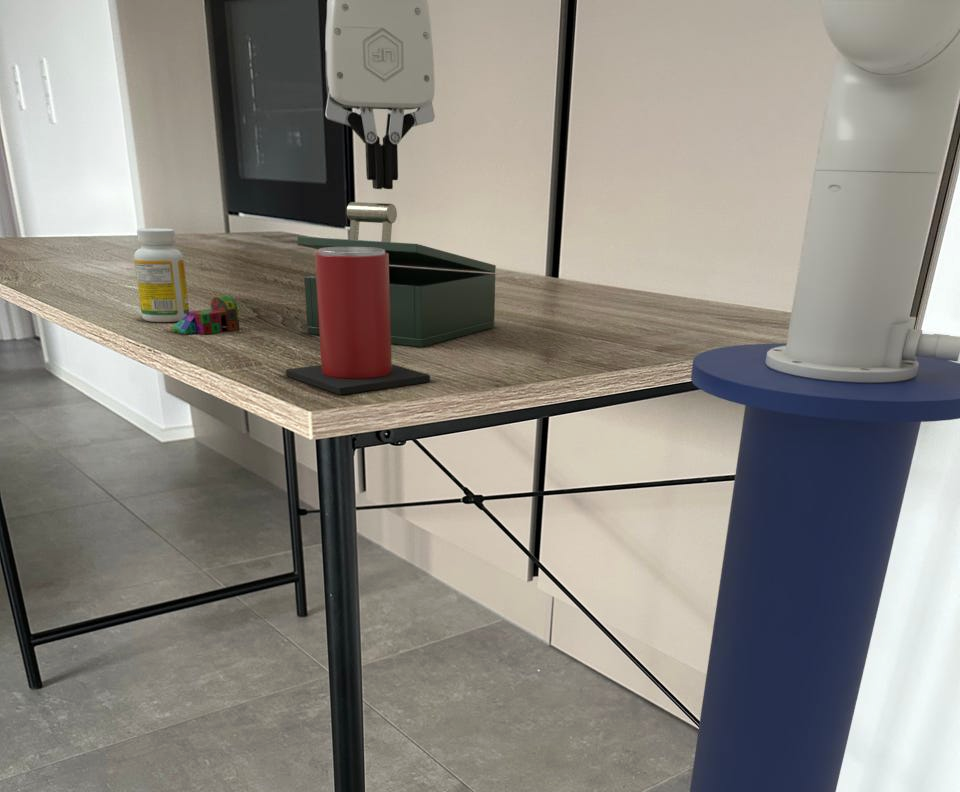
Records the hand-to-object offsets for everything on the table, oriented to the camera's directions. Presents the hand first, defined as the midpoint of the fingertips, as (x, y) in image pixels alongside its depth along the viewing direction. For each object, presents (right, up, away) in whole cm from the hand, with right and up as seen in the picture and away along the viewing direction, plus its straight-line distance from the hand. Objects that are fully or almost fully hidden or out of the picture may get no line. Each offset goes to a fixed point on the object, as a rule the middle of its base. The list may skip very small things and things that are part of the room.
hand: (382, 188), depth 95 cm
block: (-20, -12, +7) cm, 25 cm away
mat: (-1, -23, -14) cm, 27 cm away
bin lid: (+1, -5, +6) cm, 8 cm away
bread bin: (+1, -11, +9) cm, 15 cm away
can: (-1, -23, -14) cm, 27 cm away
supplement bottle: (-27, -9, +14) cm, 31 cm away
